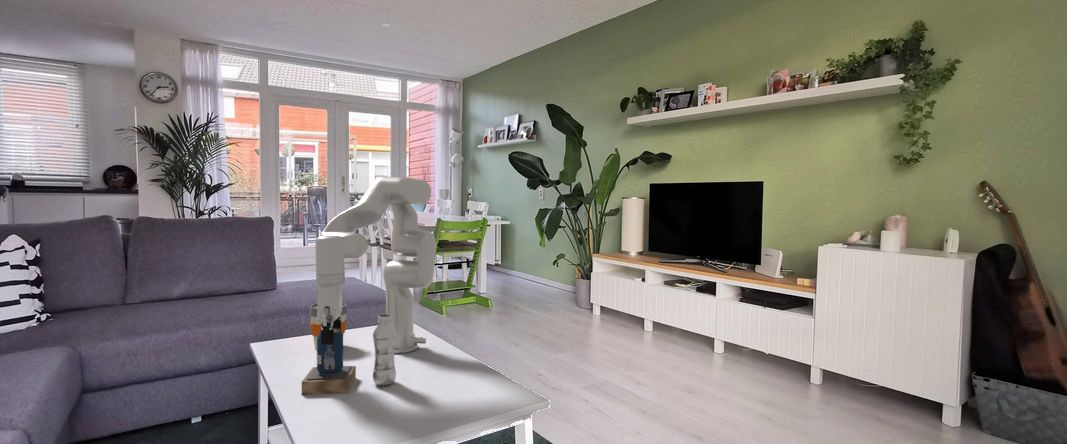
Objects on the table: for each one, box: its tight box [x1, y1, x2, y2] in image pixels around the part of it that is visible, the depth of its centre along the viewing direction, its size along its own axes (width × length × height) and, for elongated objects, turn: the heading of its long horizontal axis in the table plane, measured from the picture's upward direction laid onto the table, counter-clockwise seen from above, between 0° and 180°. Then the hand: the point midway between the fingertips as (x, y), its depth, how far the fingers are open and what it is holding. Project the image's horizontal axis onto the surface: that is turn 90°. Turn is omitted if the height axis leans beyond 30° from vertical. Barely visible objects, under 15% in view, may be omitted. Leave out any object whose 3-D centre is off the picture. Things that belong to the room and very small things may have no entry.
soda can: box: [316, 328, 344, 375], centre depth 146 cm, size 7×7×12 cm
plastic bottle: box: [372, 313, 397, 386], centre depth 149 cm, size 6×7×20 cm
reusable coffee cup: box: [308, 302, 348, 351], centre depth 183 cm, size 13×13×15 cm
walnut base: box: [301, 365, 357, 396], centre depth 146 cm, size 12×12×4 cm
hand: (331, 338), depth 147 cm, fingers open, 9 cm apart
